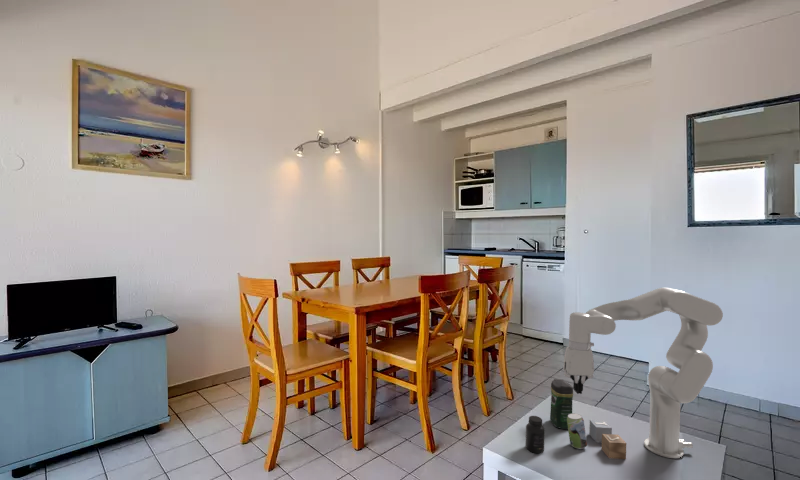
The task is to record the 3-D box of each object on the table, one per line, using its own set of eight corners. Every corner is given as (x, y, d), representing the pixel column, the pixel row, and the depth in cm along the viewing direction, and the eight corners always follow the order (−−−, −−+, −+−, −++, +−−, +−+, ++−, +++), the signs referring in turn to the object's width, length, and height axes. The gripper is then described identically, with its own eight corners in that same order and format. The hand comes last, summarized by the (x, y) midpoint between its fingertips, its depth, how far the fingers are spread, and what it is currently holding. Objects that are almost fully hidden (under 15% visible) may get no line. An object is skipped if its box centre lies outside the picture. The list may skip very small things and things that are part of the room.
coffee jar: (575, 430, 161) (576, 386, 161) (556, 430, 161) (557, 386, 161) (565, 419, 171) (566, 377, 171) (547, 418, 171) (548, 377, 171)
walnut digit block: (617, 450, 147) (618, 434, 147) (625, 459, 141) (626, 442, 141) (601, 449, 148) (602, 433, 147) (609, 458, 142) (609, 441, 141)
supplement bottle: (521, 445, 149) (522, 414, 149) (537, 443, 150) (538, 413, 150) (531, 455, 142) (532, 423, 142) (548, 453, 144) (548, 422, 143)
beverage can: (588, 452, 145) (589, 420, 145) (568, 449, 147) (569, 418, 147) (584, 443, 152) (585, 412, 151) (564, 440, 153) (565, 410, 153)
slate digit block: (604, 435, 158) (604, 420, 158) (611, 442, 152) (611, 427, 152) (589, 434, 159) (589, 419, 158) (595, 442, 153) (596, 426, 152)
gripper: (595, 343, 152) (593, 389, 152) (556, 341, 153) (554, 387, 153) (603, 348, 144) (602, 397, 144) (563, 347, 145) (561, 395, 145)
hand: (578, 392), depth 149 cm, fingers closed
